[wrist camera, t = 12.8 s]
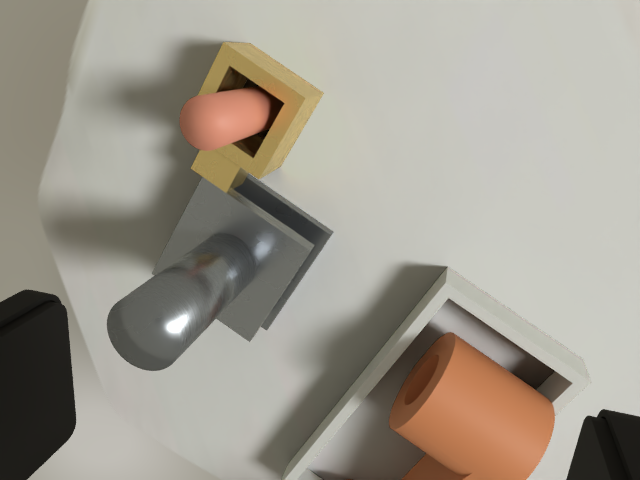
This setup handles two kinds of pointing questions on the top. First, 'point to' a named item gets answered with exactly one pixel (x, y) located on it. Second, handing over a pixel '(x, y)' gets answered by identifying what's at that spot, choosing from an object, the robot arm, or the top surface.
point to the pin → (228, 116)
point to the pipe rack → (450, 285)
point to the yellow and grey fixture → (227, 231)
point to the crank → (470, 416)
